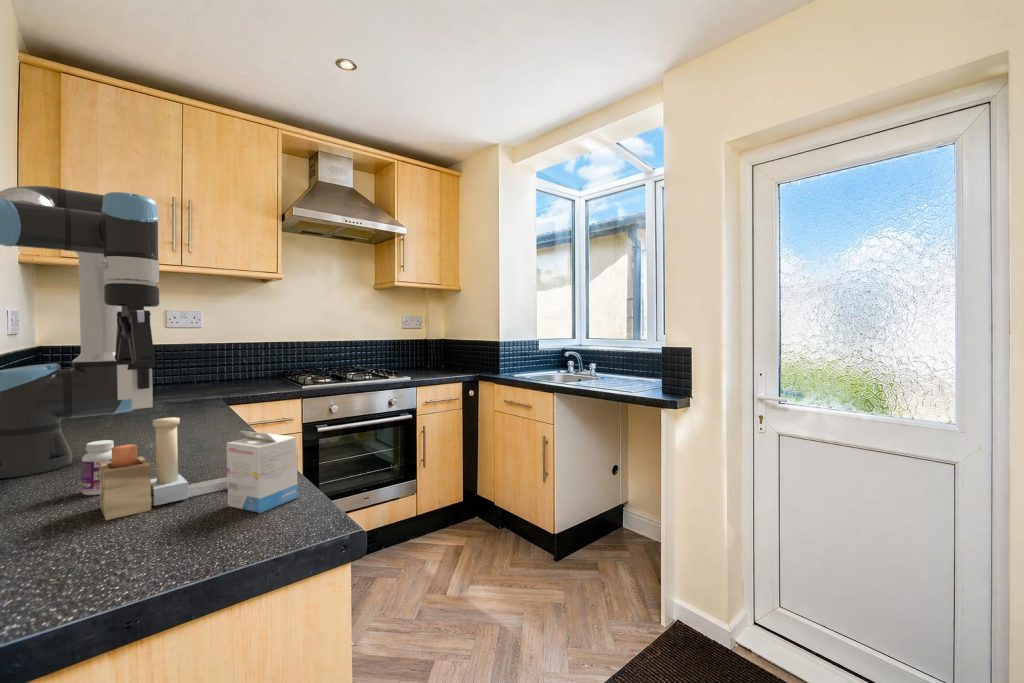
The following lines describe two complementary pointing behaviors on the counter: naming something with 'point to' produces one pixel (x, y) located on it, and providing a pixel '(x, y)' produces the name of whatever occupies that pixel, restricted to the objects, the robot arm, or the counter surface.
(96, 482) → the pill bottle
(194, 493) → the rail
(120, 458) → the orange rounded piece
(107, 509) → the wooden box
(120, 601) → the counter surface
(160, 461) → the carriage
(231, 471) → the ink box
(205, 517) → the counter surface
